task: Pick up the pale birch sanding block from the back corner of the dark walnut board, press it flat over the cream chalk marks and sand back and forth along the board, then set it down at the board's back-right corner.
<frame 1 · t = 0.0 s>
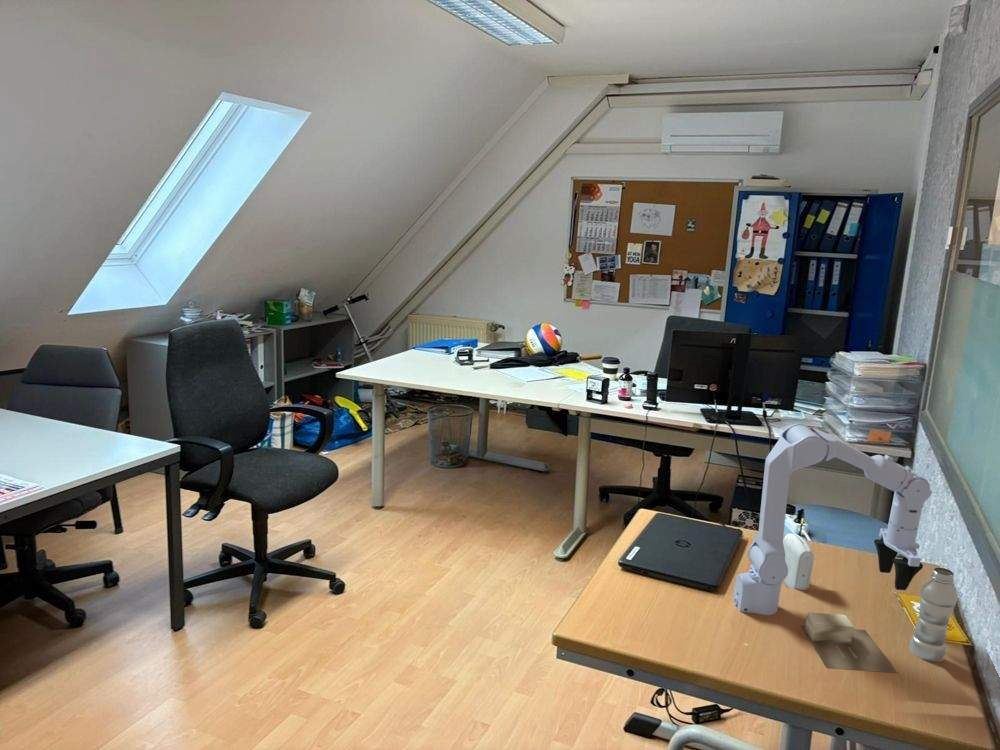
hand: (892, 580, 167), 10 cm above the table, tool pointing down, fingers open, 7 cm apart
plastic bottle: (924, 659, 155), on the table
photo printer: (792, 585, 183), on the table
sanding block: (827, 636, 159), point 1 cm above the table, touching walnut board
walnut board: (845, 654, 155), on the table
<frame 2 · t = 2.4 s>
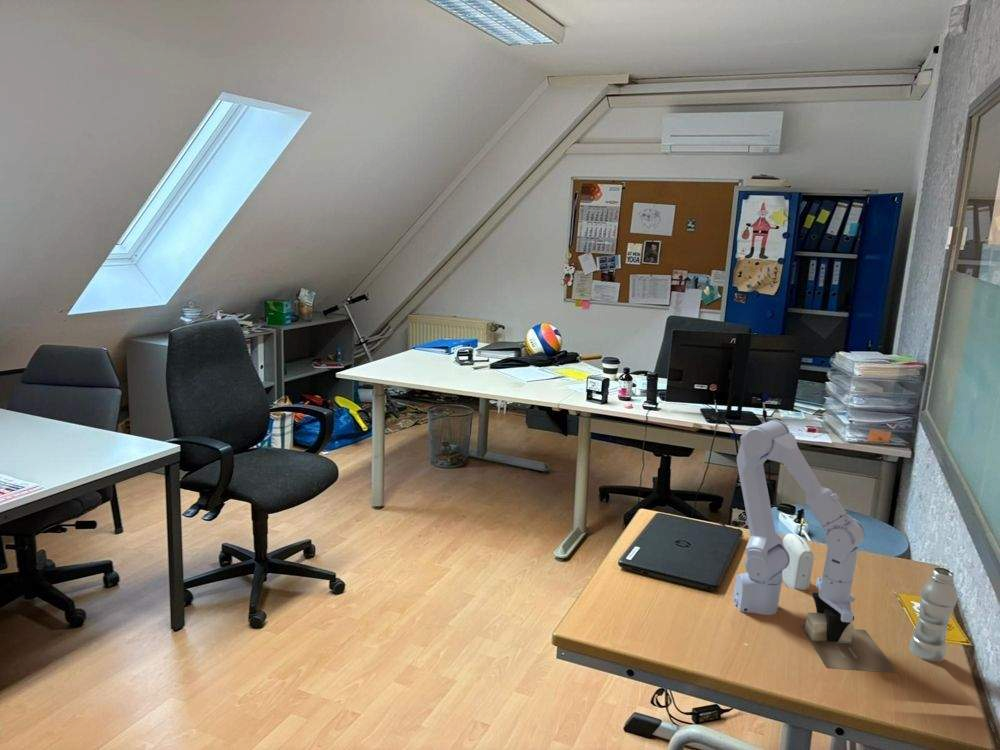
hand: (827, 634, 159), 2 cm above the table, tool pointing down, fingers closed on sanding block, 4 cm apart
sanding block: (827, 636, 159), point 1 cm above the table, touching gripper, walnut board
everything else where it was.
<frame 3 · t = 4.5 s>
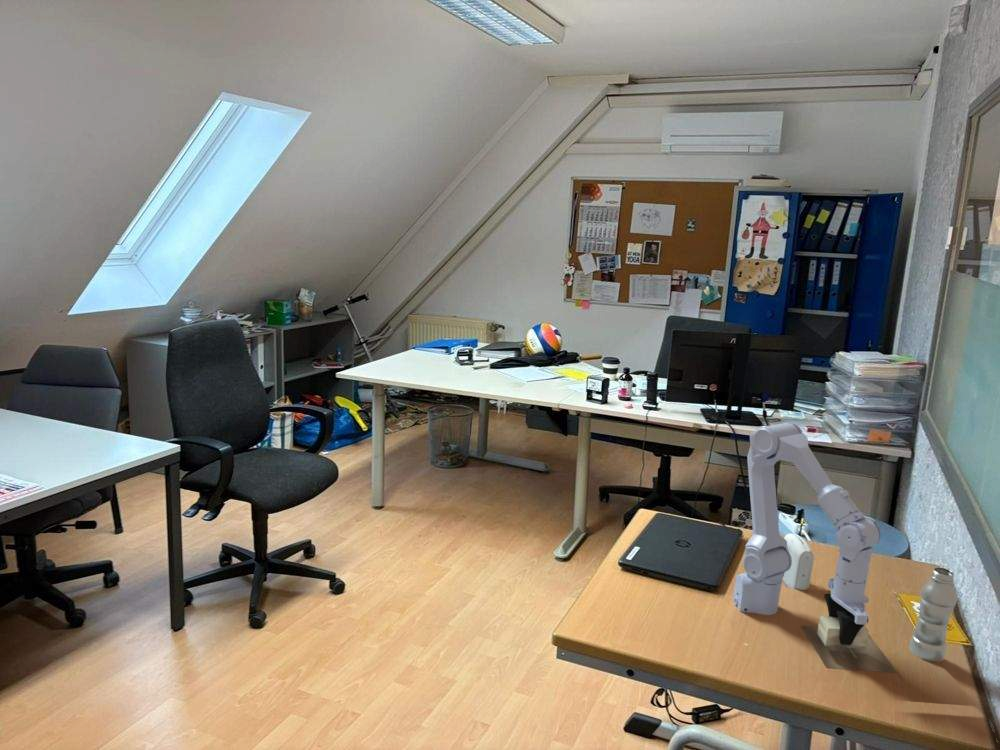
hand: (840, 636, 153), 5 cm above the table, tool pointing down, fingers closed on sanding block, 4 cm apart
sanding block: (840, 640, 153), point 4 cm above the table, touching gripper
everything else where it was.
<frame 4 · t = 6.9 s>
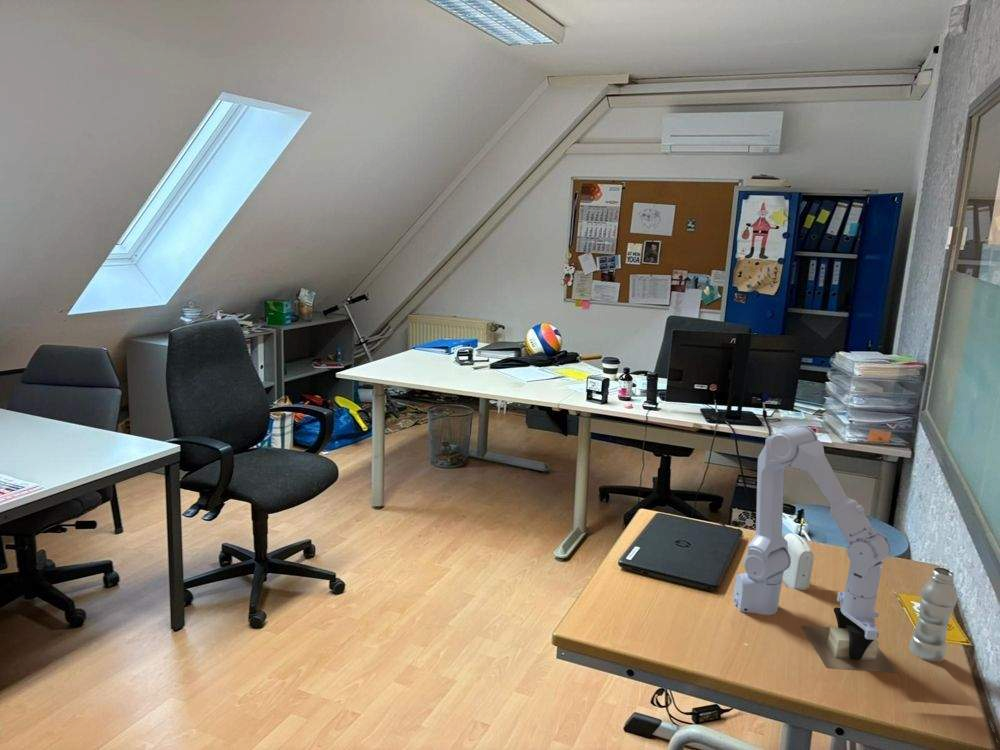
hand: (849, 650, 153), 2 cm above the table, tool pointing down, fingers closed on sanding block, 4 cm apart
sanding block: (850, 652, 154), point 2 cm above the table, touching gripper
everything else where it was.
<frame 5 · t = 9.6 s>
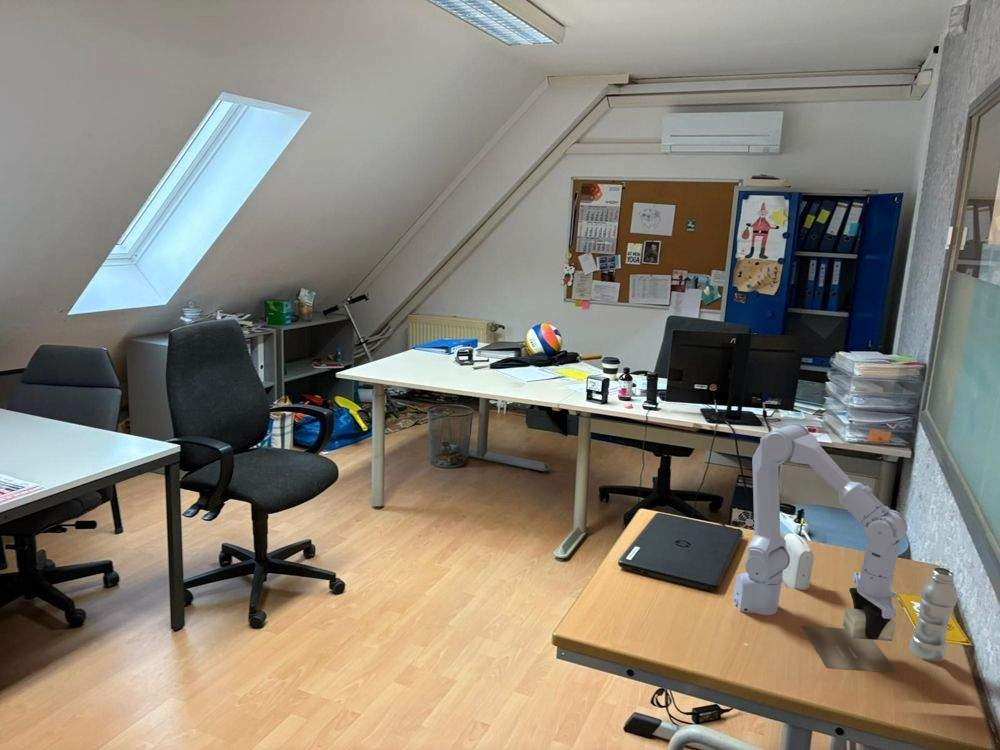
hand: (866, 631, 152), 7 cm above the table, tool pointing down, fingers closed on sanding block, 4 cm apart
sanding block: (867, 633, 152), point 6 cm above the table, touching gripper
everything else where it was.
when the fingers open (3 cm above the table, at t = 11.9 s): sanding block stays where it is, resting on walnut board.
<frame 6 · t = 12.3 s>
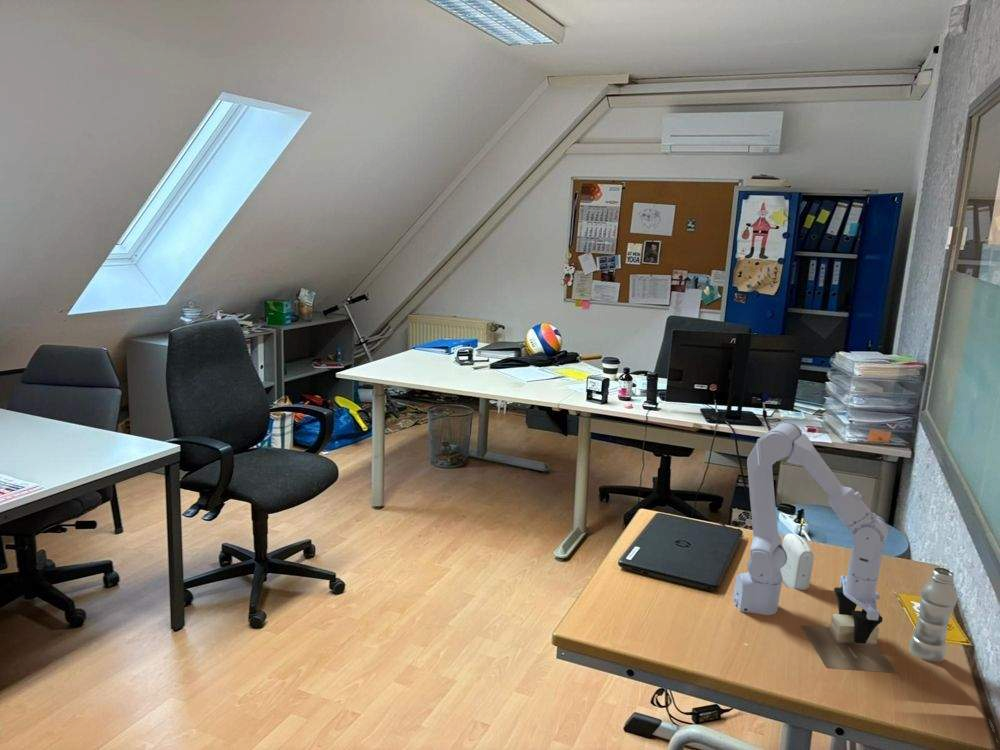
hand: (852, 631, 158), 3 cm above the table, tool pointing down, fingers open, 7 cm apart
sanding block: (852, 637, 159), point 1 cm above the table, touching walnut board
everything else where it was.
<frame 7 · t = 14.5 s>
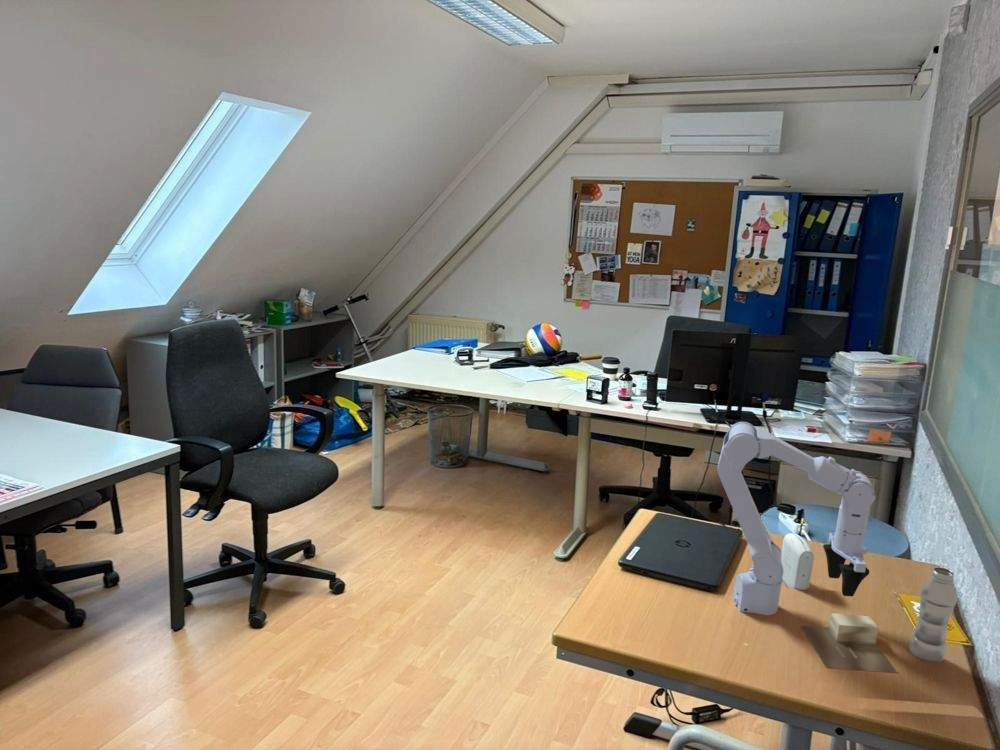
hand: (840, 586, 163), 10 cm above the table, tool pointing down, fingers open, 7 cm apart
nothing on the table moved.
at the end: sanding block 0.3 cm from the target spot on the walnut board, point 1.5 cm above the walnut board's base; sanding block tilted 0°; the gripper is holding nothing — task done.
